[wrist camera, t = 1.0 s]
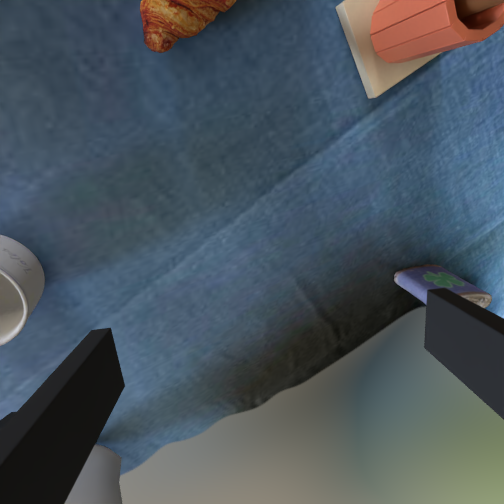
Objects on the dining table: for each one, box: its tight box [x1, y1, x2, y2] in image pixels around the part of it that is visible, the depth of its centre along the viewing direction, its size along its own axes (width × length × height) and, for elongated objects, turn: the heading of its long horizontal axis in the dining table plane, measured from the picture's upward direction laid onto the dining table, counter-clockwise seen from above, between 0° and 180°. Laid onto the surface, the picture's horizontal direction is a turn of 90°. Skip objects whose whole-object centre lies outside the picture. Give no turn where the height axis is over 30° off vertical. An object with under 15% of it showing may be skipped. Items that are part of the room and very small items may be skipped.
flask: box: [394, 265, 492, 308], centre depth 44 cm, size 9×3×11 cm, turn 89°
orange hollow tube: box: [370, 0, 504, 63], centre depth 28 cm, size 7×7×10 cm
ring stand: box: [336, 0, 504, 99], centre depth 26 cm, size 10×10×18 cm
